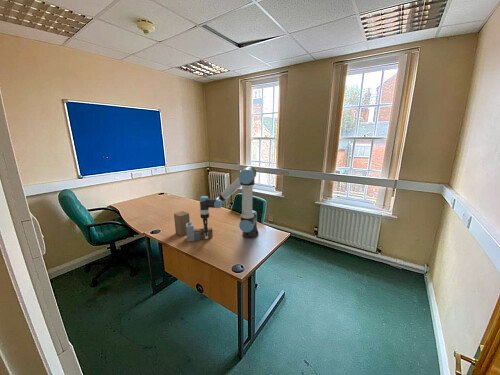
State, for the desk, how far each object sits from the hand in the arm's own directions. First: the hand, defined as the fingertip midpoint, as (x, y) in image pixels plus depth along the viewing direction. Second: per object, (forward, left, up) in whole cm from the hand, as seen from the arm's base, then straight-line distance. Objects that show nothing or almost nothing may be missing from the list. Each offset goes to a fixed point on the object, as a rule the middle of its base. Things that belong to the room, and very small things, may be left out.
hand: (206, 235), depth 189 cm
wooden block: (+20, -14, -2) cm, 25 cm away
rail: (+2, 0, -2) cm, 3 cm away
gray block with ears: (+10, 0, -2) cm, 11 cm away
